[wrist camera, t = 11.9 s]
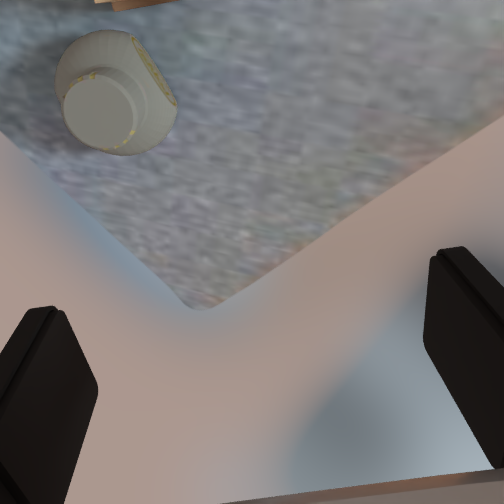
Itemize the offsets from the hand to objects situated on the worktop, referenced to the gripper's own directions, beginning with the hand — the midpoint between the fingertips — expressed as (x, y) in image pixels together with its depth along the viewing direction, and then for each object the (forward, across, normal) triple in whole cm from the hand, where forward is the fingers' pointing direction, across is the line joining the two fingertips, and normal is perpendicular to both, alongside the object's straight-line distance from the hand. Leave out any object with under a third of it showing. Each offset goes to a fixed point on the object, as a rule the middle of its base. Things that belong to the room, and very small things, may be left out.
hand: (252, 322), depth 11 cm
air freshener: (+37, +10, -1) cm, 38 cm away
